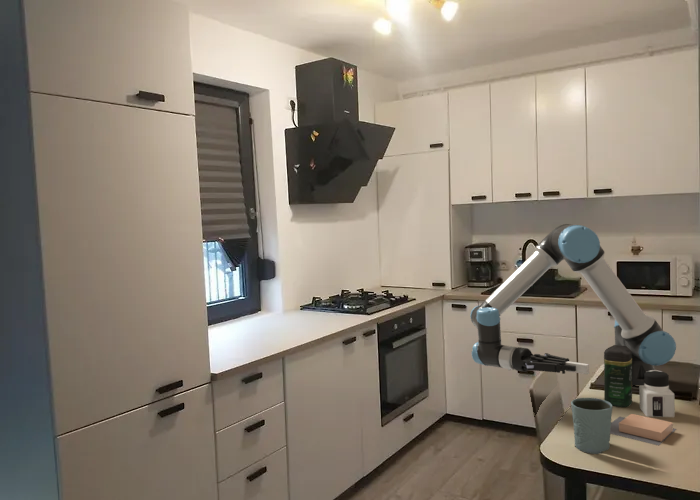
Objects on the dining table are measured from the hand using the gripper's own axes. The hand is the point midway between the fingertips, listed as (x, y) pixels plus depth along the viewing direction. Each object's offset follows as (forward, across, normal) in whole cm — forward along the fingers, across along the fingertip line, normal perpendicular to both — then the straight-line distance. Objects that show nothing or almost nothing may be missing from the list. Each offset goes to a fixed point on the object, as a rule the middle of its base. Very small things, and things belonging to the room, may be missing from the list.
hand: (587, 369), depth 171 cm
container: (+13, -17, -17) cm, 27 cm away
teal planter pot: (+8, +17, -16) cm, 24 cm away
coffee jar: (+1, -19, -16) cm, 25 cm away
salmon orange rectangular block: (+10, 0, -14) cm, 17 cm away
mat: (+13, 0, -16) cm, 21 cm away
